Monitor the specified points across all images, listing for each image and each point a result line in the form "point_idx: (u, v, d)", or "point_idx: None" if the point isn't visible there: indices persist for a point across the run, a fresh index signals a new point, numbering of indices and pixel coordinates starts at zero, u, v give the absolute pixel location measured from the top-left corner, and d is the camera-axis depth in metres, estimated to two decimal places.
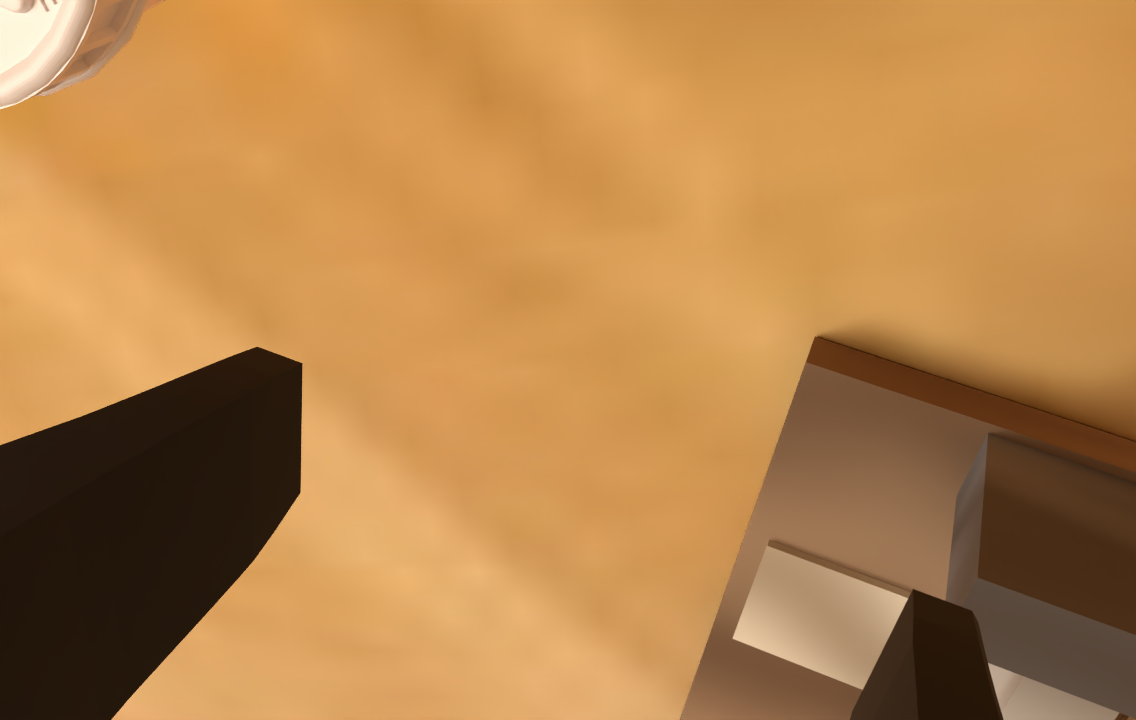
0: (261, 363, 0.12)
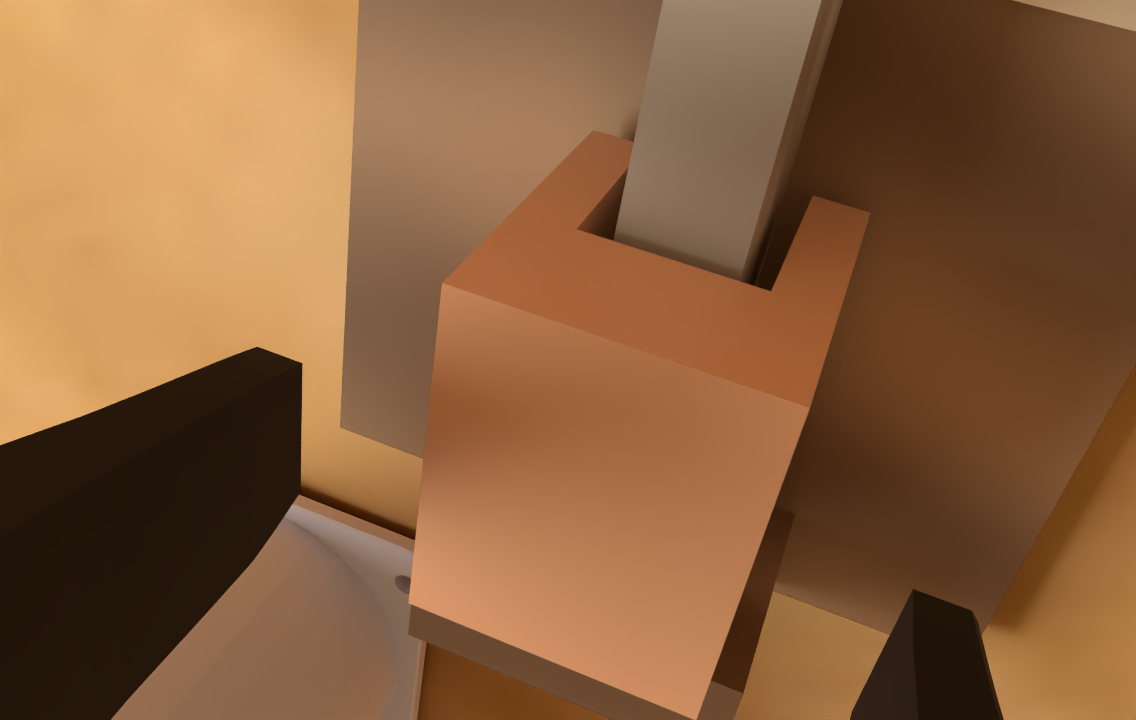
0: (261, 364, 0.12)
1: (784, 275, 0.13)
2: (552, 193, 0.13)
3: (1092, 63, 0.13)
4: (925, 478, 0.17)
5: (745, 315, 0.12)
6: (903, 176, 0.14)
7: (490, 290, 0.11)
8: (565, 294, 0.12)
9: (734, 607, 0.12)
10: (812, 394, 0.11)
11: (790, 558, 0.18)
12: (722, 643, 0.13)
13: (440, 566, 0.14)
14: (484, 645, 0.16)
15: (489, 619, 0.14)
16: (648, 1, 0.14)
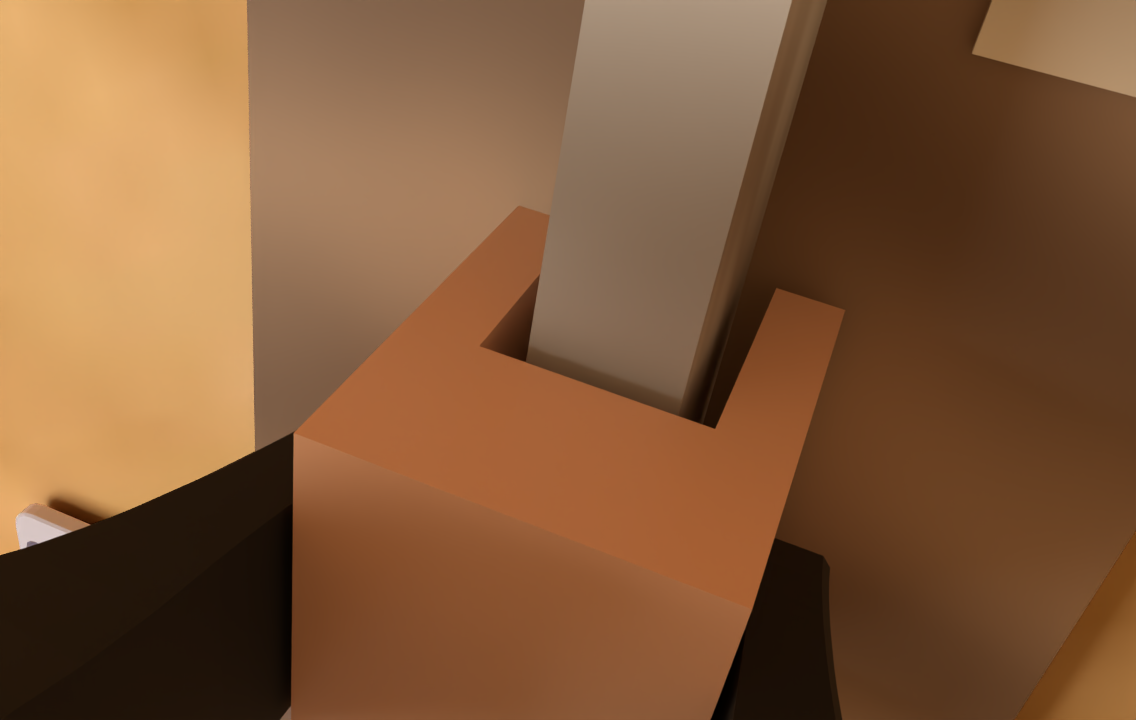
0: None
1: (733, 404, 0.10)
2: (456, 295, 0.11)
3: (1113, 141, 0.11)
4: (913, 603, 0.14)
5: (679, 467, 0.09)
6: (884, 266, 0.12)
7: (355, 442, 0.09)
8: (451, 444, 0.09)
9: None
10: (756, 587, 0.08)
11: None
12: None
13: None
14: None
15: None
16: None
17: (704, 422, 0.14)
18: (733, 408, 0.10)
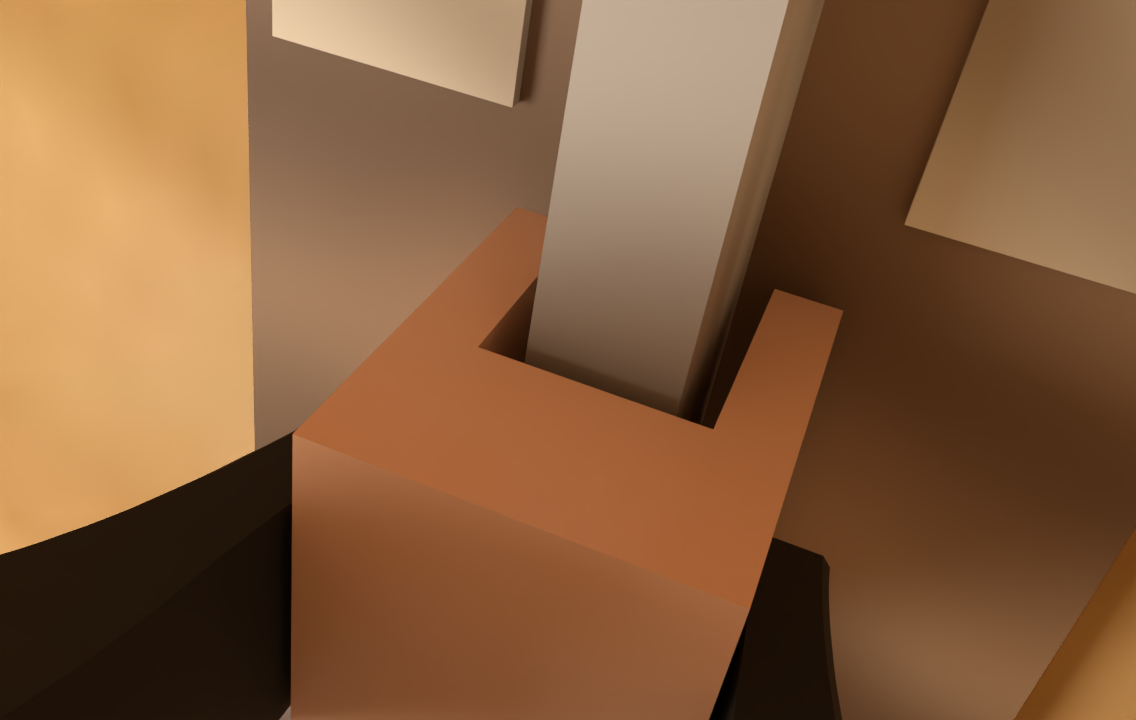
0: None
1: (731, 405, 0.10)
2: (455, 296, 0.11)
3: (1033, 301, 0.12)
4: (868, 692, 0.15)
5: (677, 467, 0.09)
6: (833, 398, 0.13)
7: (353, 443, 0.09)
8: (450, 445, 0.09)
9: None
10: (754, 586, 0.08)
11: None
12: None
13: None
14: None
15: None
16: None
17: None
18: (731, 408, 0.10)
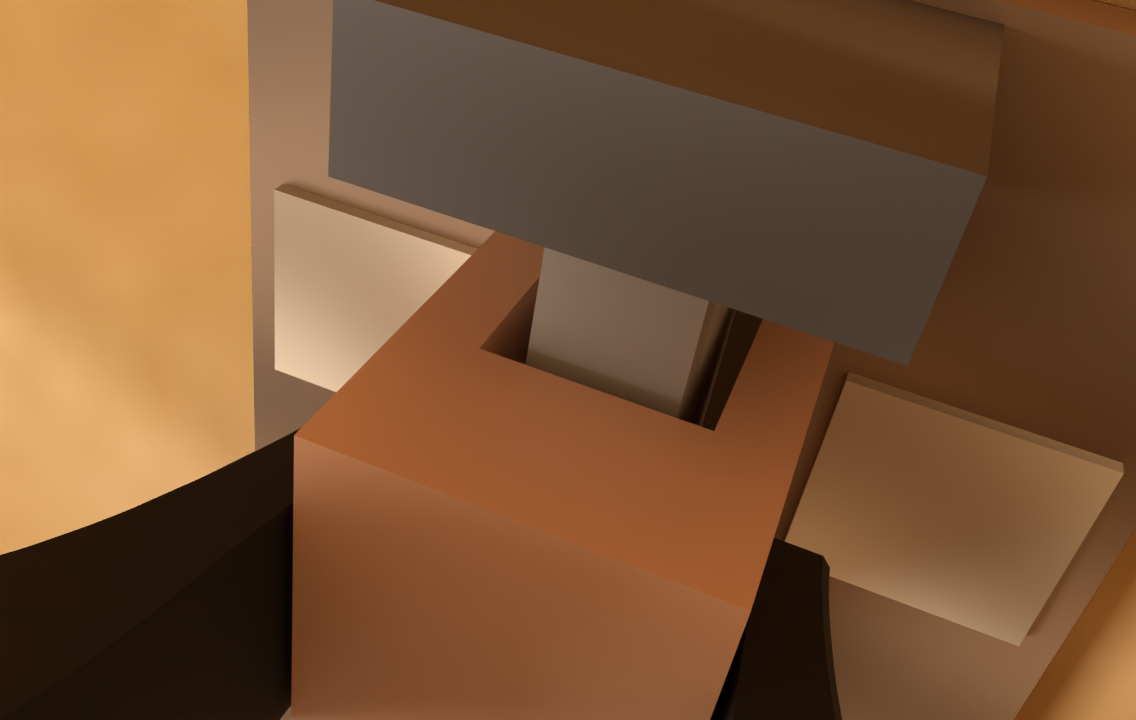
0: None
1: (733, 407, 0.10)
2: (456, 298, 0.11)
3: (883, 615, 0.15)
4: None
5: (679, 469, 0.09)
6: None
7: (355, 444, 0.09)
8: (452, 446, 0.09)
9: None
10: (756, 589, 0.08)
11: None
12: None
13: None
14: None
15: None
16: None
17: None
18: (732, 410, 0.10)
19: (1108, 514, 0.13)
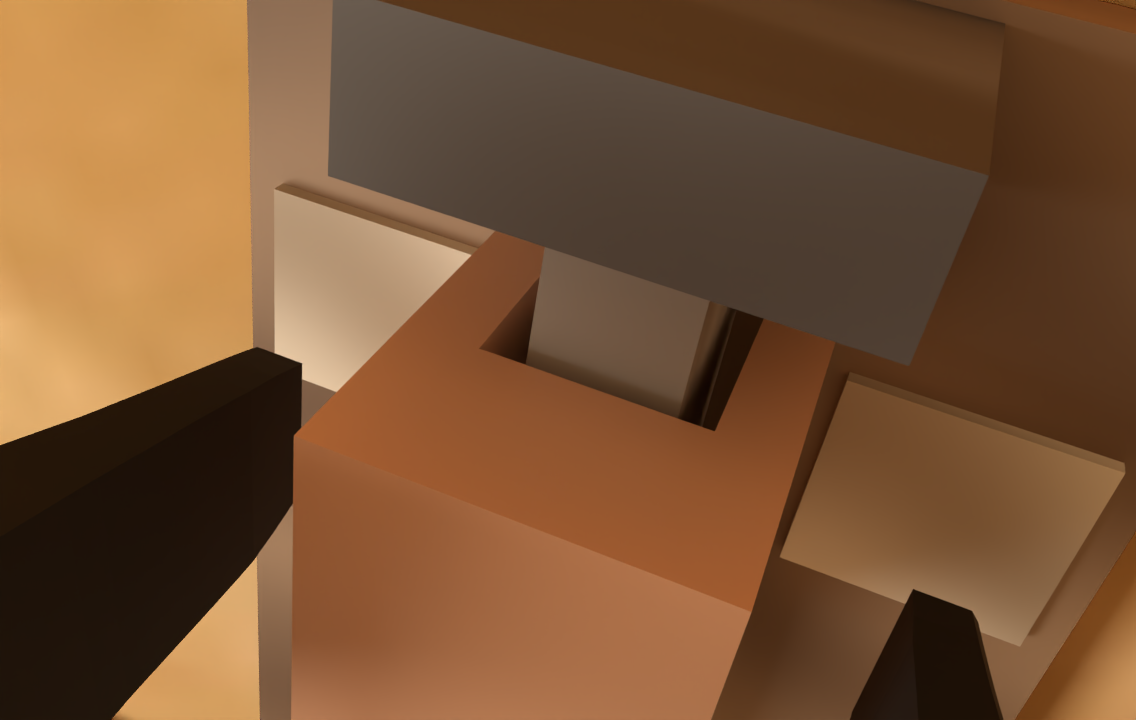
0: (262, 363, 0.12)
1: (733, 407, 0.10)
2: (457, 298, 0.11)
3: (884, 615, 0.15)
4: None
5: (679, 469, 0.09)
6: (733, 665, 0.16)
7: (355, 445, 0.09)
8: (451, 447, 0.09)
9: None
10: (756, 590, 0.08)
11: None
12: None
13: None
14: None
15: None
16: None
17: None
18: (733, 411, 0.10)
19: (1109, 514, 0.13)
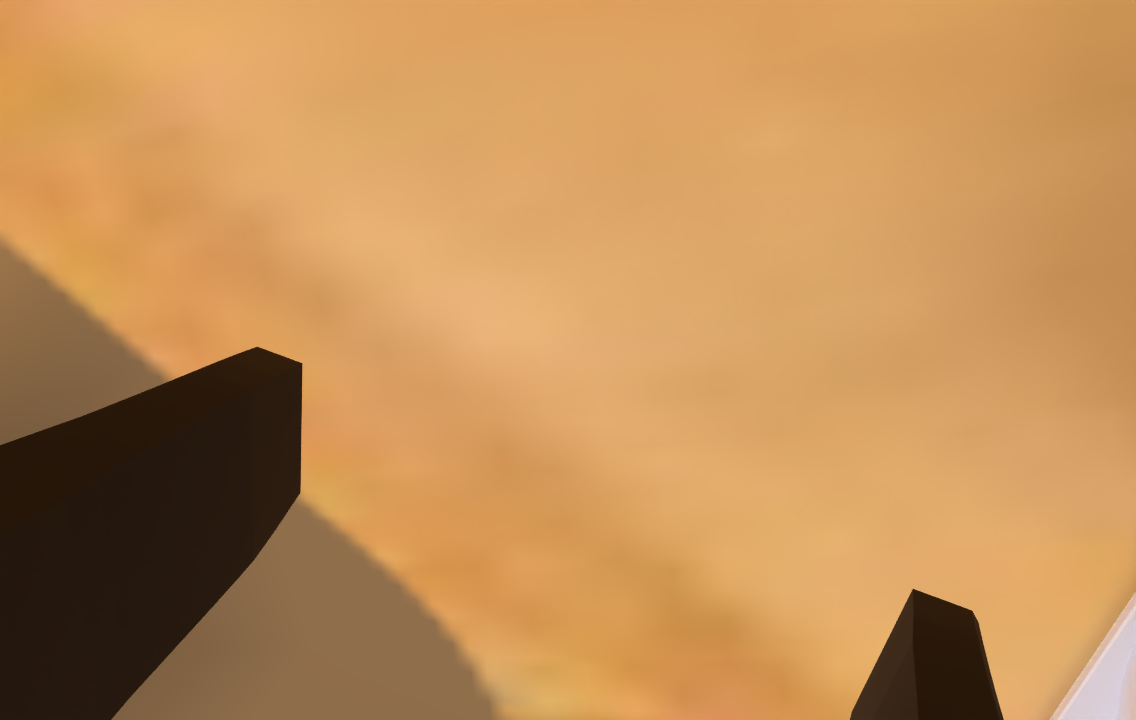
0: (261, 364, 0.12)
1: None
2: None
3: None
4: None
5: None
6: None
7: None
8: None
9: None
10: None
11: None
12: None
13: None
14: None
15: None
16: None
17: None
18: None
19: None
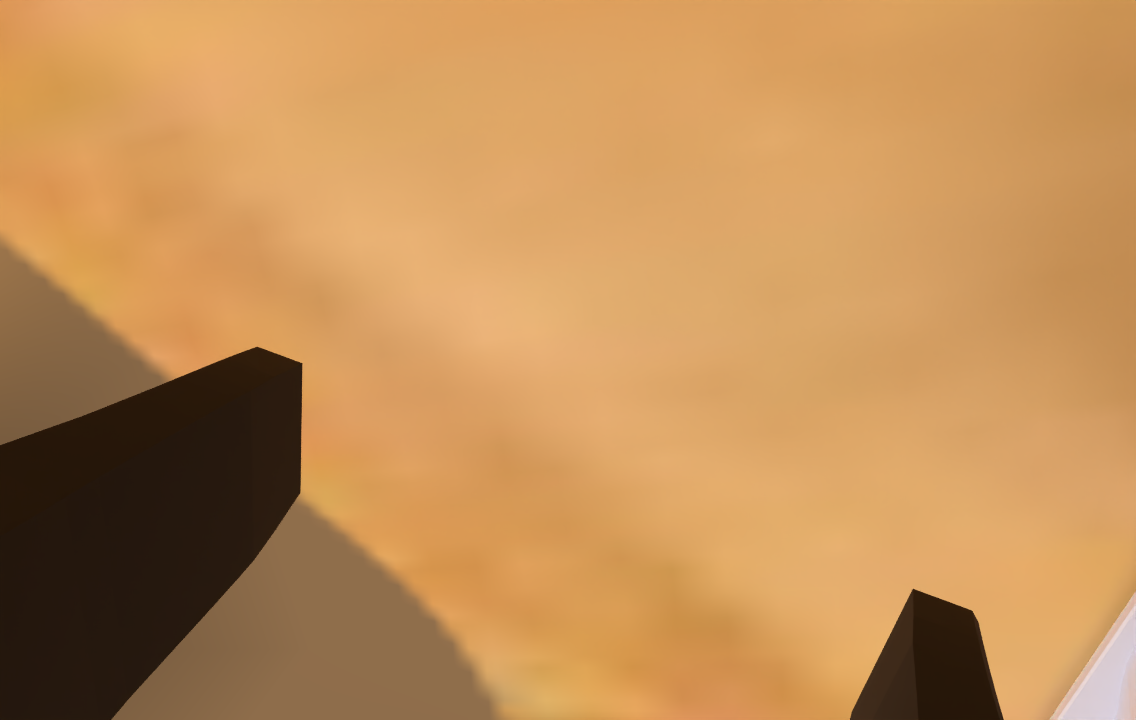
0: (261, 364, 0.12)
1: None
2: None
3: None
4: None
5: None
6: None
7: None
8: None
9: None
10: None
11: None
12: None
13: None
14: None
15: None
16: None
17: None
18: None
19: None
